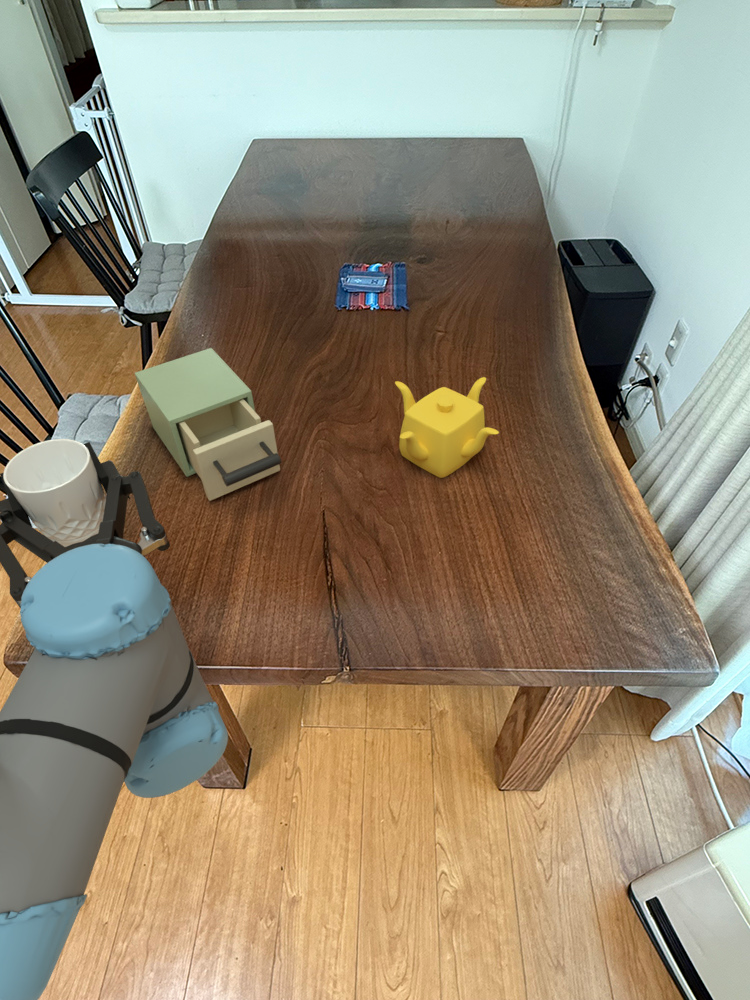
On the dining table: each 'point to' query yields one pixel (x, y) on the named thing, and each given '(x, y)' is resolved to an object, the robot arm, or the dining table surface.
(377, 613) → the dining table surface
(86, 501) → the white cup
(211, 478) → the drawer
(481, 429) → the teapot
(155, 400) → the cabinet
